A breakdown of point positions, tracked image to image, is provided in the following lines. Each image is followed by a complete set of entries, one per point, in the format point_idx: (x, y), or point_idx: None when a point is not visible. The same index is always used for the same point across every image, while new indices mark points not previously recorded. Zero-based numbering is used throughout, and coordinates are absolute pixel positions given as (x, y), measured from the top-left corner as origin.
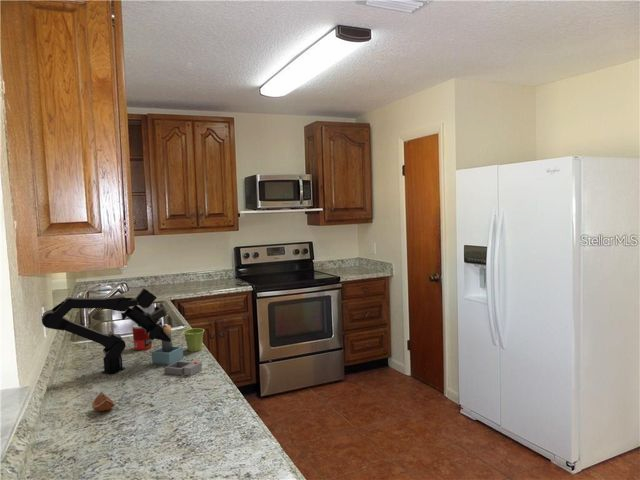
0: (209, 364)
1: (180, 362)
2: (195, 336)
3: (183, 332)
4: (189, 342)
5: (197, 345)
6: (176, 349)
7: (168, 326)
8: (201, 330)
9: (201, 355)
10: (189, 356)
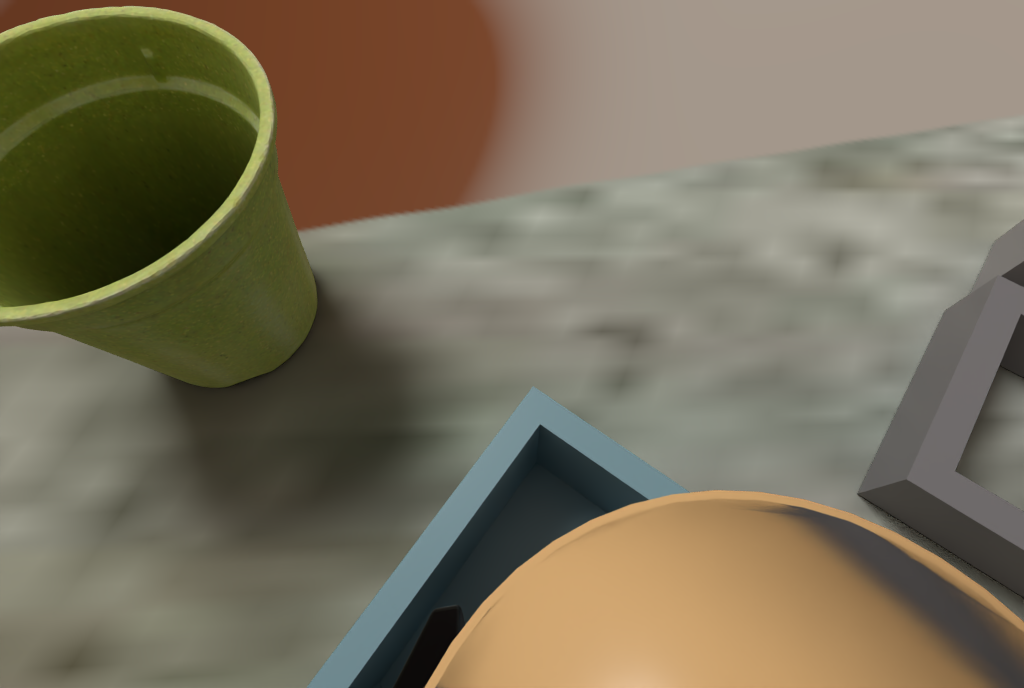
0: (830, 179)
1: (966, 437)
2: (273, 159)
3: (20, 312)
4: (253, 304)
5: (299, 239)
6: (654, 482)
7: (887, 642)
8: (30, 65)
9: (497, 246)
10: (478, 367)
